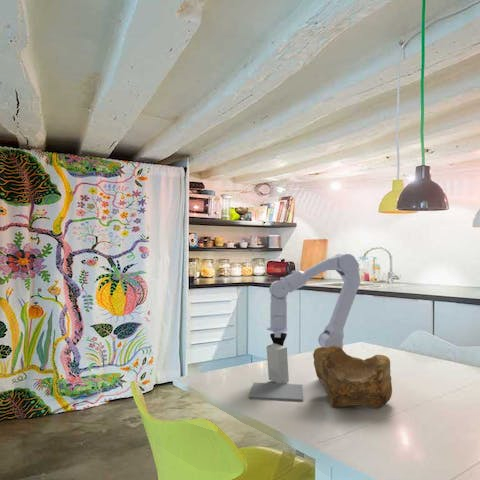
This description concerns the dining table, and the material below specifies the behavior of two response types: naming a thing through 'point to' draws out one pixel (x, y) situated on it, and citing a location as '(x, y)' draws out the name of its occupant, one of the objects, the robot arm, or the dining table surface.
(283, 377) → the skincare box
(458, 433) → the dining table surface
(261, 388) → the rubber mat
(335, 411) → the dining table surface
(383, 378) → the rough brown rock
